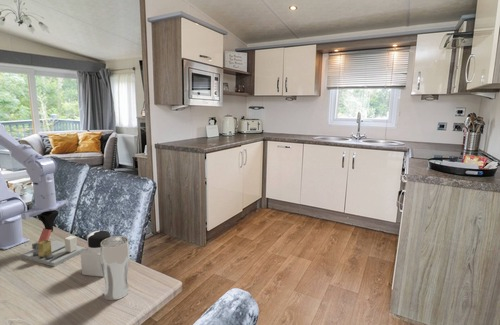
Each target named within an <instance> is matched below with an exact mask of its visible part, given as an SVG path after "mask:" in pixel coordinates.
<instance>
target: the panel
mask: <svg viewBox="0 0 500 325" xmlns="http://www.w3.org/2000/svg"><path fill="white" fill-rule="evenodd" d="M37 244H38V242H34V243H32V244H31V247H32V249H31V250H30V251H27V252H24V253H22V258H23V259H26V260H29V261H32V262H33V261H34V262H35V263H36V262H37V263H40V264H44V265H47V266H51V267H56V266H58V265H61V264H63V263H64V262H66V261H68V260H70V259H72V258H75V257H76V256H78V255H81V252H83V251H84V250H86V247H84V246H80V245H77V249H76V250H74V251H72V252H68V251H65V241H61V240H60V241H59V240H56V239H55V240H53V241H51V252H52V254H50V255H47V256H45V257H41V256H39V253H38V248H35V246H36V245H37Z"/></svg>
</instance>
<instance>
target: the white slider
mask: <svg viewBox="0 0 500 325" xmlns="http://www.w3.org/2000/svg"><path fill="white" fill-rule="evenodd" d="M64 242H65V251H68V252H72V251H74V250H76V249H77V246H78V239H77V236H74V235H69V236H67V237H65V238H64Z"/></svg>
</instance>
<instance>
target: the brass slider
mask: <svg viewBox="0 0 500 325" xmlns="http://www.w3.org/2000/svg"><path fill="white" fill-rule="evenodd" d="M51 242H52V241H51V240H49V239H48V240H44V241H41V242H39V243H38V242H37V243H38V253H39V256H41V257H45V256H47V255H50V254H52V252H51Z"/></svg>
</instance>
